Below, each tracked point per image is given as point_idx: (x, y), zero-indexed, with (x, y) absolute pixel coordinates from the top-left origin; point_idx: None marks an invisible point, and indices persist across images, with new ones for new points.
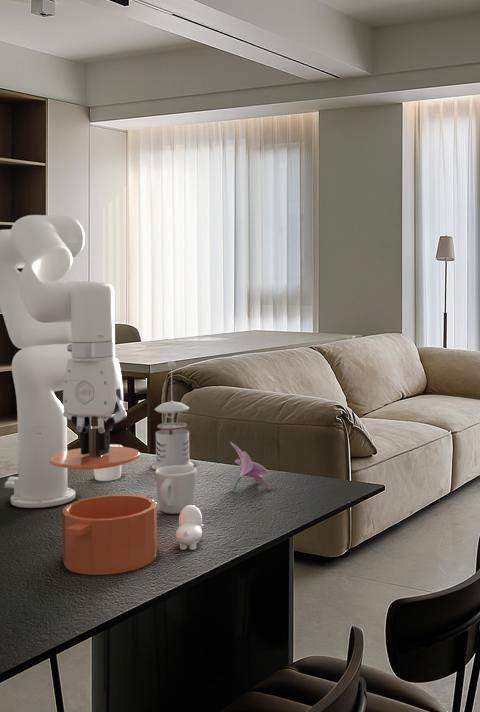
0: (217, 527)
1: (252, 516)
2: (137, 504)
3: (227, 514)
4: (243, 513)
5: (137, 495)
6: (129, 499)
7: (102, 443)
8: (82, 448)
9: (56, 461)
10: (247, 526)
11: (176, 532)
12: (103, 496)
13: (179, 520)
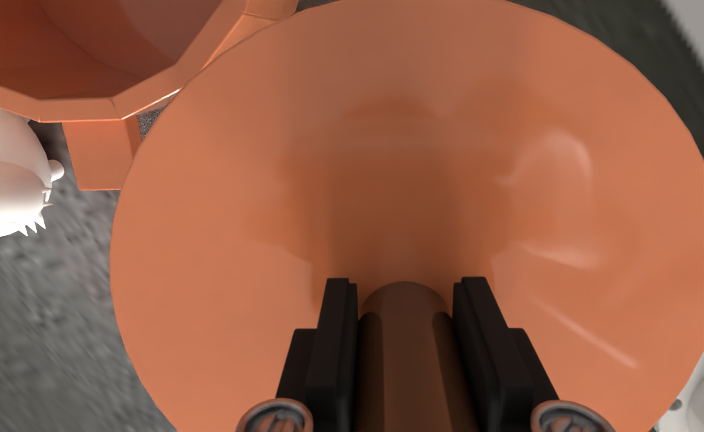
0: (73, 312)
1: (57, 413)
2: (68, 95)
3: (128, 411)
4: (96, 428)
5: (61, 120)
6: (97, 96)
7: (307, 352)
8: (478, 296)
9: (579, 64)
10: (9, 341)
11: (1, 117)
12: (198, 45)
13: (9, 171)
